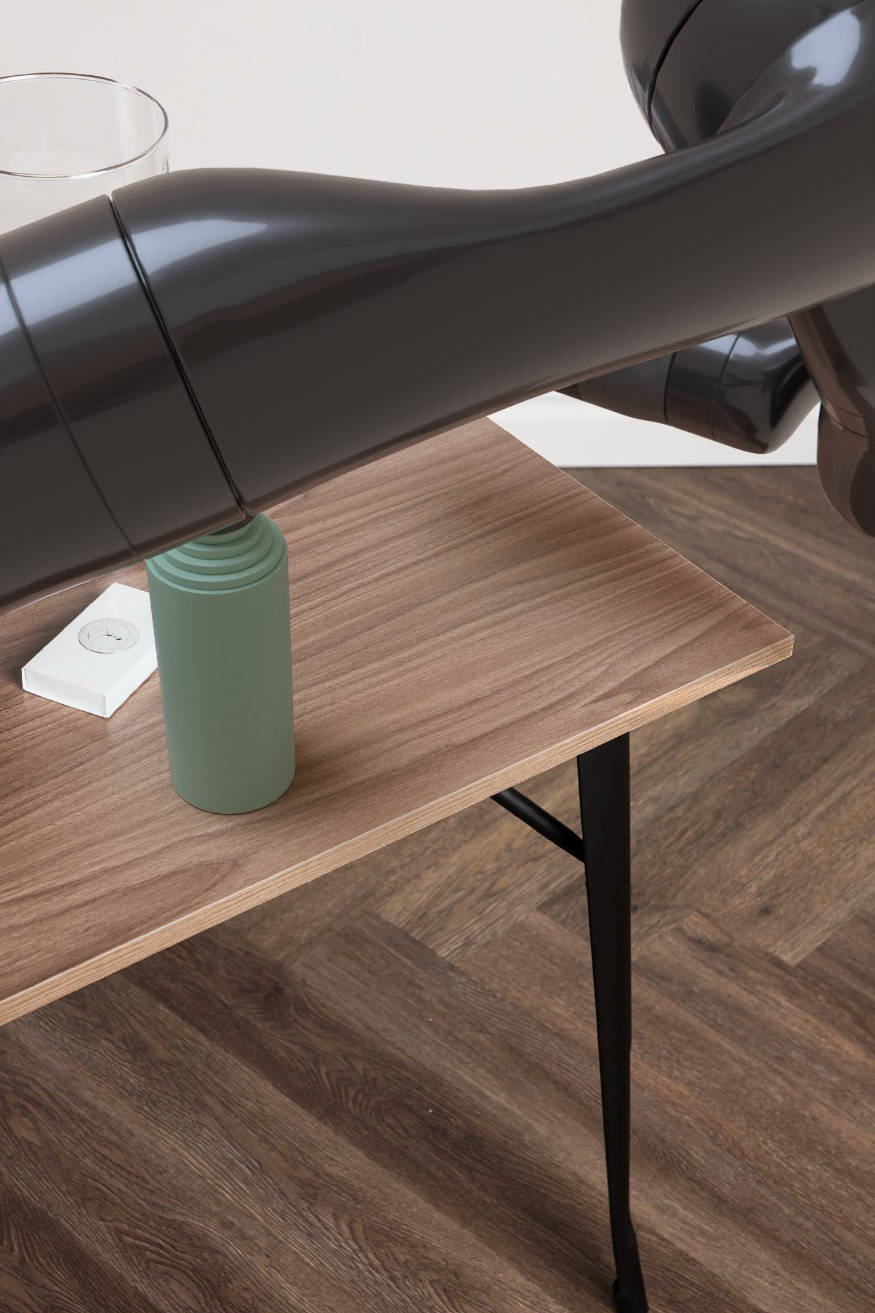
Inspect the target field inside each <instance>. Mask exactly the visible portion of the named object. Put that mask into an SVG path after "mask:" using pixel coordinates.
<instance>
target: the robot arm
mask: <svg viewBox="0 0 875 1313" xmlns="http://www.w3.org/2000/svg"><path fill="white" fill-rule="evenodd" d="M620 2H621V3H620V5H621V6H620V16H619V28H618V38H619V44H620V46H619V47H620V52H621V53H620V54H621V59H622V66H623V70H624V73H625V75H626V79H627V83H628V86H629V89H630V91H631V95H632V97H633V99H634V101H635V104H636V106H637V108H638V110H639V112H640V116H641V117H642V118H643V120H644V122H645V124H646V126H647V128H648V129H649V131H650V133H651V134H652V136H653V138H654V139H655V140H656V142H657V143H658V145H659V146H660V148H661V150H662V152H663V153H662V154H659V155H655V156H652V157H648V158H646V159H642V160H639V161H636V162H632V163H630V164H626V165H623V166H619V167H616V168H613V169H610V170H606V171H604V172H599V173H597V174H594V175H590V176H586V177H580V178H577V179H572V180H566V181H562V182H558V183H554V184H553V183H552V184H544V185H537V186H527V187H519V188H509V189H508V188H503V189H500V188H499V189H497V188H496V189H495V188H494V189H491V188H490V189H470V188H468V189H467V188H455V187H444V186H443V187H442V186H428V185H419V184H411V183H403V182H402V183H401V182H394V181H386V180H385V181H384V180H377V179H370V178H362V177H356V176H355V177H353V176H345V175H338V174H329V173H320V172H313V171H305V170H304V171H303V170H292V169H291V170H290V169H277V168H266V167H265V168H264V167H196V168H188V169H179V170H173V171H171V172H166V173H161V174H157V175H153V176H151V177H147V178H144V179H141V180H138V181H134V182H132V183H129V184H126V185H123V186H120V187H118V188H115V189H113V190H112V191H111V194H110V196H111V198H110V197H109V195H108V194H106V193H104V194H103V193H102V194H101V195H99V196H96V197H93V198H91V199H88V200H86V201H83V202H81V203H77V204H76V205H72V206H71V207H70V206H69V207H67V208H65V209H62V210H60V211H58V212H54V213H52V214H51V215H47V216H45V217H42V218H40V219H37V220H35V221H32V222H30V223H27V224H24V225H22V226H20V227H16V228H14V229H12V230H9V231H7V232H4V233H1V234H0V618H2V617H3V616H7V615H8V614H11V613H13V612H15V611H18V610H20V609H22V608H25V607H27V606H30V605H32V604H34V603H37V602H39V601H42V600H44V599H46V598H49V597H51V596H54V595H57V594H59V593H62V592H64V591H67V590H70V589H73V588H74V587H77V586H80V585H83V584H85V583H88V582H91V581H94V580H96V579H100V578H102V577H105V576H108V575H111V574H114V573H117V572H119V571H121V570H125V569H127V568H131V567H132V566H136V565H137V564H140V563H143V562H144V561H145V559H146V560H148V559H151V558H153V557H156V556H158V555H160V554H163V553H165V552H168V551H170V550H173V549H175V548H177V547H180V546H182V545H185V544H187V543H189V542H192V541H194V540H197V539H199V538H202V537H204V536H206V535H209V534H211V533H214V532H216V531H219V530H221V529H223V528H226V527H228V526H231V525H233V524H235V523H238V522H240V521H243V520H245V517H246V515H245V511H247V513H248V514H249V515H251V516H255V515H257V514H259V513H261V512H262V513H263V512H266V511H268V510H269V509H271V508H274V507H276V506H278V505H281V504H282V503H284V502H287V501H289V500H291V499H294V498H295V497H297V496H299V495H301V494H304V493H306V492H309V491H310V490H312V489H314V488H316V487H319V486H321V485H323V484H325V483H328V482H330V481H333V480H335V479H337V478H340V477H341V476H343V475H346V474H348V473H351V472H353V471H356V470H358V469H360V468H363V467H366V466H367V465H371V464H372V463H374V462H376V461H379V460H382V459H384V458H386V457H389V456H392V455H394V454H396V453H399V452H402V451H403V450H406V449H408V448H410V447H413V446H415V445H418V444H421V443H424V442H426V441H428V440H430V439H432V438H436V437H437V436H440V435H443V434H445V433H448V432H450V431H453V430H454V429H457V428H460V427H462V426H465V425H467V424H470V423H472V422H475V421H478V420H481V419H483V418H486V417H488V416H490V415H493V414H496V413H498V412H501V411H503V410H506V409H508V408H509V409H510V408H511V407H514V406H516V405H519V404H522V403H524V402H526V401H529V400H531V399H534V398H538V397H540V396H543V395H546V394H548V393H549V394H550V393H551V392H556V393H559V394H561V395H564V396H566V397H570V398H573V399H575V400H578V401H582V402H584V403H587V404H590V405H593V406H596V407H599V408H602V409H604V410H608V411H610V412H613V413H616V414H618V415H621V416H624V417H628V418H632V419H635V420H639V421H646V422H651V423H657V424H660V425H661V424H662V425H664V426H669V427H673V428H674V429H678V430H680V431H683V432H686V433H689V434H692V435H695V436H698V437H701V438H703V439H707V440H709V441H713V442H715V443H719V444H721V445H724V446H727V447H729V448H732V449H735V450H739V451H742V452H746V453H749V454H755V455H767V454H771V453H774V452H775V451H777V450H779V449H781V447H782V446H783V445H784V444H786V443H787V442H788V441H789V439H790V438H791V437H792V436H793V435H794V433H795V432H796V431H797V430H798V428H799V427H800V425H801V424H802V423H803V422H804V420H805V419H806V418H807V417H808V415H809V414H810V413H811V412H812V411H813V409H814V408H815V407H816V406H817V405H818V404H819V411H818V417H817V429H816V430H817V434H816V473H817V478H818V482H819V485H820V487H821V490H822V492H823V494H824V496H825V498H826V500H827V501H828V503H829V504H830V506H831V507H832V508H833V510H835V512H836V513H837V514H838V515H839V516H840V517H841V518H842V519H843V520H844V521H845V522H846V523H847V524H848V525H849V526H851V528H854V529H855V530H857V531H858V532H860V533H862V534H863V535H865V536H867V537H869V538H871V539H873V540H875V0H621V1H620Z"/></svg>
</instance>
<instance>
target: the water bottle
mask: <svg viewBox="0 0 875 1313" xmlns="http://www.w3.org/2000/svg"><path fill="white" fill-rule="evenodd" d="M144 561H145V568H146V570H145V571H146V578H147V586H148V594H149V596H148V597H149V603H150V604H149V605H150V612H151V620H152V630H153V637H154V646H155V653H156V664H157V672H158V681H159V690H160V697H161V706H162V714H163V715H162V716H163V721H164V722H163V723H164V732H165V740H166V749H167V757H168V766H169V775H170V780H171V784H172V786H173V788H174V790H175V792H176V793H177V794H178V795H179V796H180V798H181V799H182V800H184V801H185V802H187V803H188V804H189V805H191V806H193V807H195V808H196V809H199V810H201V811H205V812H208V813H212V814H218V815H219V814H220V815H239V814H246V813H250V812H254V811H257V810H259V809H262V808H265V807H267V806H268V805H270V804H272V803H273V802H276V800H278V799H279V798H280V797H281V796H283V794H284V793H286V791H287V790H288V789H289V787H290V786H291V784H292V782H293V781H294V777H295V774H296V745H295V719H294V718H295V717H294V715H295V714H294V712H295V711H294V688H293V686H294V685H293V684H294V683H293V660H292V656H293V655H292V632H291V631H292V630H291V605H290V604H291V603H290V576H289V575H290V574H289V549H288V543H287V540H286V538H285V535H284V534H283V533H282V531H281V530H280V527H279V526H278V524H277V523H276V522H275V521H274V520H272V519H271V518H270V516H268V515H266V514H264V513H263V512H261V513H259V514H257V515H256V516H255V518H254V519H253V520H252V521H251V522H250V523H249V524H248V525H246V526H245V527H243V528H241V529H239V530H237V531H234V532H230V533H226V534H220V535H206V536H204V537H202V538H199V539H197V540H194V541H192V542H189V543H187V544H185V545H182V546H180V547H177V548H175V549H173V550H170V551H168V552H165V553H163V554H160V555H158V556H156V557H153V558H151V559H148V560H146V559H145V560H144Z"/></svg>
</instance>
